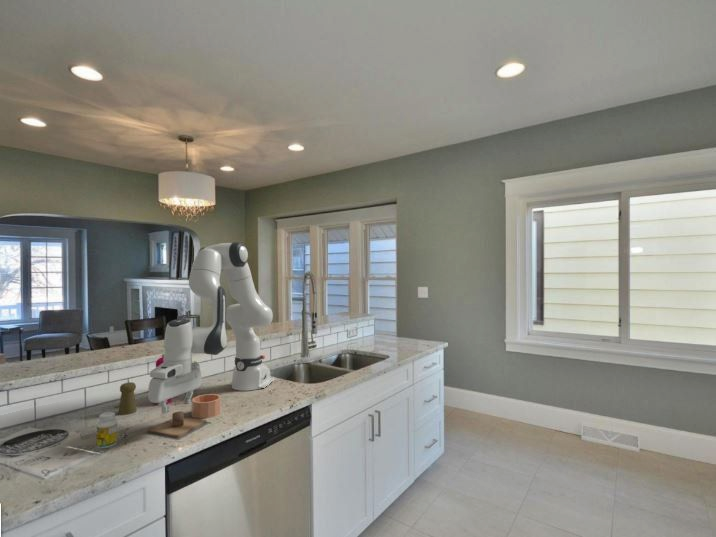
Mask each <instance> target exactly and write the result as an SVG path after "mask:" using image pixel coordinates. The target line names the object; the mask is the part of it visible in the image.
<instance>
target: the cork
mask: <svg viewBox="0 0 716 537" xmlns="http://www.w3.org/2000/svg"><path fill="white" fill-rule="evenodd" d="M136 386H137V385H136V383H134V382H132V381H131V382H124V383H122V384H121V385H120V386H119V392H120V393H121V394H120V401H119V405H118V413H117V414H118V415H121V416H125V415H131V414H135V413H136V412H137V403H136V396H135V391H136V389H137V387H136Z"/></svg>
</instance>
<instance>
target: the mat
mask: <svg viewBox="0 0 716 537" xmlns="http://www.w3.org/2000/svg"><path fill="white" fill-rule="evenodd" d="M211 423H212V422H211V421H207V423H206V424H204V425H202V426H200V427H198V428H196V429H194V430H193V431H191V432H189V433H187V434H185V435H183V436H181V437H180V438H175V437H169V436H164V435H158V434H153V433H147V430H146V431H144V432H142V435H149V436H154V437H159V438H163V439H164V438H165V439H171V440H176V441H179V440H181V439H183V438H185V437H187V436H189V435H191V434H192V433H194V432H197V431H198V430H199V429H201V428H203V427H205V426H207V425H209V424H211Z"/></svg>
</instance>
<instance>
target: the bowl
mask: <svg viewBox="0 0 716 537" xmlns="http://www.w3.org/2000/svg"><path fill="white" fill-rule="evenodd" d="M221 411H222V395H219V394H216V393H215V394H214V393H209V394H208V393H206V394H201V395H197V396H195V397H192V398H191V417H192V418H193V419H199V420H203V419H209V418H213V417H214V418H215V417H217V416H218V415H220V414H221Z"/></svg>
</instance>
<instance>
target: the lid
mask: <svg viewBox="0 0 716 537" xmlns="http://www.w3.org/2000/svg"><path fill="white" fill-rule="evenodd" d="M184 415H185V413H184V411H176V412H173V413H172V415H171V419H169V420H165V421H164V422H162V423H159V424H157V425H155V426H153V427H150V428H148V429H147V430H146V431H147V433H153V434H158V435H164V436H169V437H175V438H180V437H181V436H183V435H185V434H187V433H189V432H191V431H193V430H194V429H196V428H198V427H200V426H202V425H204V424H206V423H207V422H208V421H207V420H205V419H204V420H203V419H199V418H194V417H186V416H184Z"/></svg>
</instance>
